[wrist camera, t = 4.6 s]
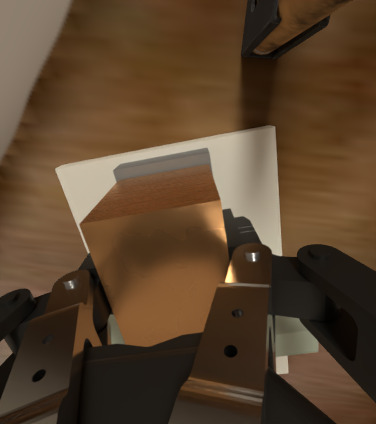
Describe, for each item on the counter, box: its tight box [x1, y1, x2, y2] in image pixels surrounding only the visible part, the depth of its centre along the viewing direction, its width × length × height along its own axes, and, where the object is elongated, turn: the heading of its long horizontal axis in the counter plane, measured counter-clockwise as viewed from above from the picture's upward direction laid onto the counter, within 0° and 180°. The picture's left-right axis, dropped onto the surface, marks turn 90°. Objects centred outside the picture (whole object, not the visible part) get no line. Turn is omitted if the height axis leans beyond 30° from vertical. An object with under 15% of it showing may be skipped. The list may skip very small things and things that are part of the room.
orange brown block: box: [79, 164, 230, 347], centre depth 12 cm, size 6×4×6 cm
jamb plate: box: [55, 125, 318, 374], centre depth 16 cm, size 19×12×6 cm, turn 11°
